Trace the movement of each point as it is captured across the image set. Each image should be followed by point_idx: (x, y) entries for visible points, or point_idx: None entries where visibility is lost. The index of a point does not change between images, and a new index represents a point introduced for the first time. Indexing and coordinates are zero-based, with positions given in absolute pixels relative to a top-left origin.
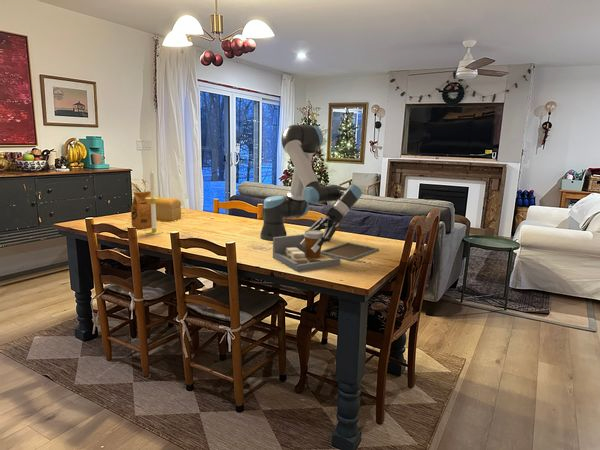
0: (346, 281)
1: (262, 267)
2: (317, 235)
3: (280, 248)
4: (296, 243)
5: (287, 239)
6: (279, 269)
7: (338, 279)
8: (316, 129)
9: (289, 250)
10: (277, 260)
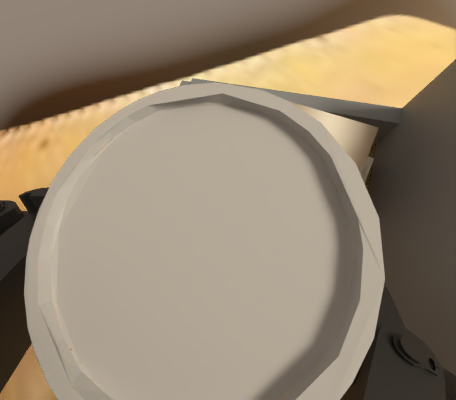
0: (29, 147)
1: (301, 41)
2: (80, 166)
3: (413, 129)
4: (421, 245)
5: None
6: (244, 70)
7: (53, 143)
8: None
9: (302, 105)
10: None
